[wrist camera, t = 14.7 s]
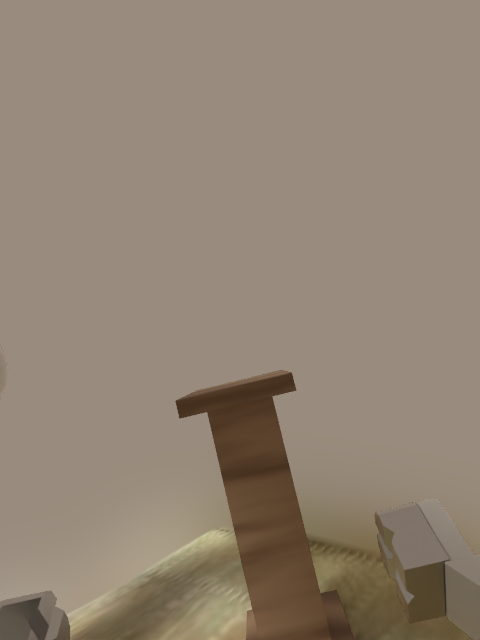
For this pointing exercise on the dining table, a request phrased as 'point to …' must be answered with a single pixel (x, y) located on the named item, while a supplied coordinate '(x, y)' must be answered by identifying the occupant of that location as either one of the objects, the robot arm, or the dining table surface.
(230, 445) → the stand
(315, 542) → the dining table surface
